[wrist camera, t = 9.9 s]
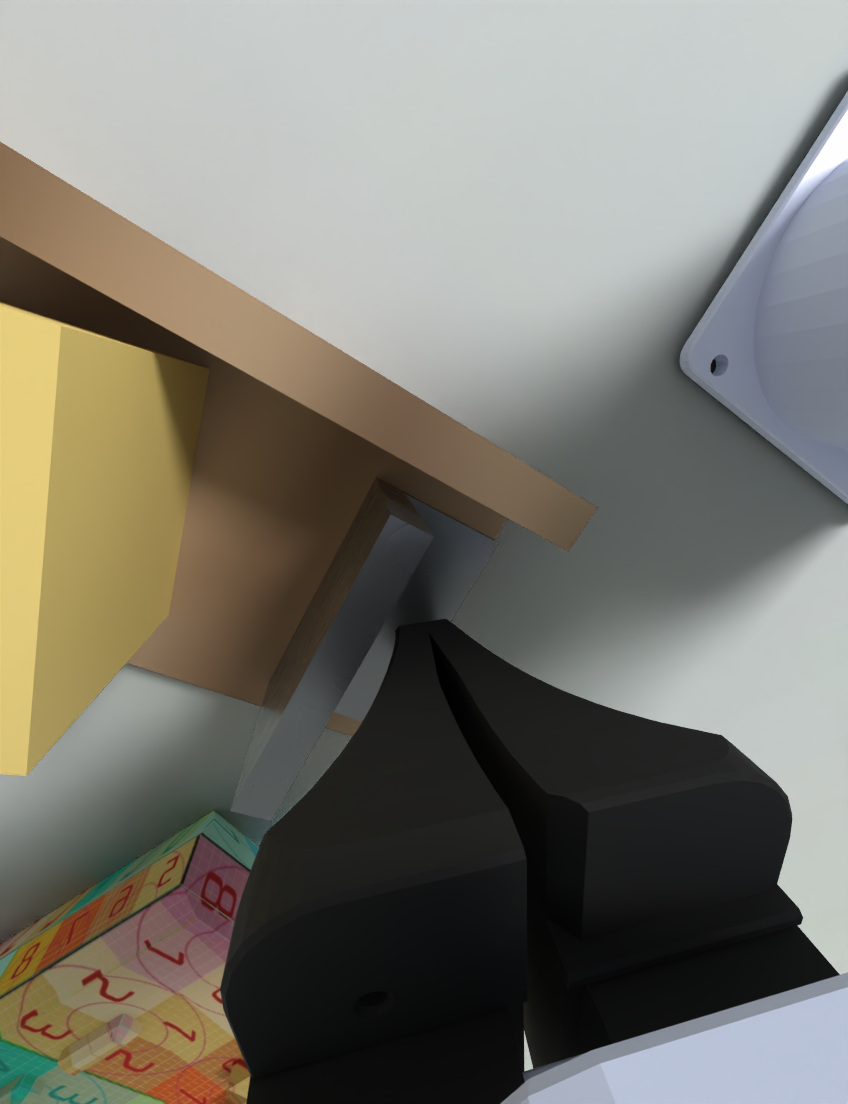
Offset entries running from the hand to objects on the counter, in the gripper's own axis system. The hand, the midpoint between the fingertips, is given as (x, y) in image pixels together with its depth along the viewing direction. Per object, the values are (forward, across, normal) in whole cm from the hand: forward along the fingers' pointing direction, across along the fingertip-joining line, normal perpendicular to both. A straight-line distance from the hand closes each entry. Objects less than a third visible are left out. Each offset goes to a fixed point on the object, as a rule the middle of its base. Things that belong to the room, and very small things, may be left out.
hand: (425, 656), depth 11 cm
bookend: (+1, +1, -1) cm, 2 cm away
